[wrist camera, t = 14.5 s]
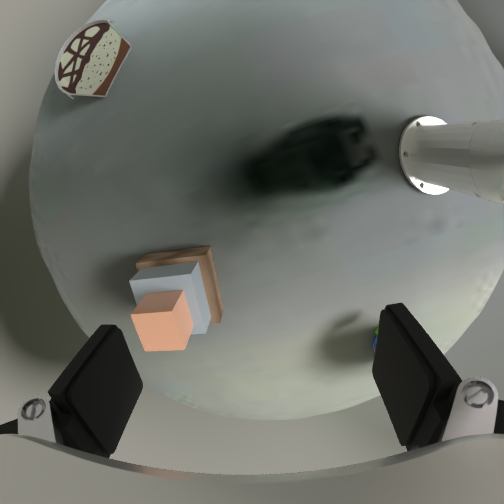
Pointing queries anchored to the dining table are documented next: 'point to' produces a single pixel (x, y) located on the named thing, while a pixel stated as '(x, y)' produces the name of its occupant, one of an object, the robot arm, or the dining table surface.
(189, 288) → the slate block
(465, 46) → the dining table surface
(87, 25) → the food container
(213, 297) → the walnut slab
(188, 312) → the terracotta cube
